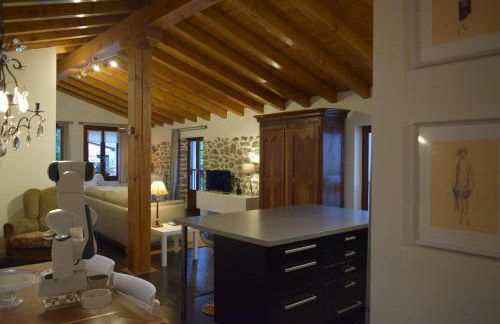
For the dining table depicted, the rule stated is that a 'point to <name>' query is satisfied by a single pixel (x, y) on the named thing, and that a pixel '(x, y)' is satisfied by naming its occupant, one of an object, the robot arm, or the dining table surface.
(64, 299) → the block
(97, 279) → the flower pot
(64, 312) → the dining table surface
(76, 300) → the tray
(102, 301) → the bowl
